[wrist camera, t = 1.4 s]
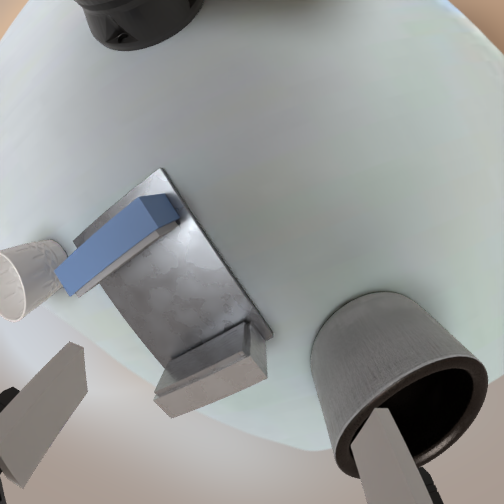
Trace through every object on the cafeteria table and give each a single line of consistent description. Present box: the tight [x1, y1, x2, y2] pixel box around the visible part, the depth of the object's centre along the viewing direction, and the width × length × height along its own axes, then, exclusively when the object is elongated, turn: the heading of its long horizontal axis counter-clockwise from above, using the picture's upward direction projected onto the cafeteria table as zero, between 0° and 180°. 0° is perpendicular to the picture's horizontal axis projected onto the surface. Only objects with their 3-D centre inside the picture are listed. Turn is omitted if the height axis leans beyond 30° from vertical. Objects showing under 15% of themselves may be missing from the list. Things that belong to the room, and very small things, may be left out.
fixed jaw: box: [154, 322, 268, 418], centre depth 30 cm, size 4×12×7 cm, turn 122°
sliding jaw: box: [54, 193, 180, 297], centre depth 27 cm, size 4×12×7 cm, turn 123°
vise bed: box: [73, 168, 273, 368], centre depth 32 cm, size 22×14×1 cm, turn 33°
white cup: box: [0, 240, 67, 322], centre depth 27 cm, size 8×8×10 cm
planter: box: [311, 292, 488, 479], centre depth 26 cm, size 16×16×16 cm
